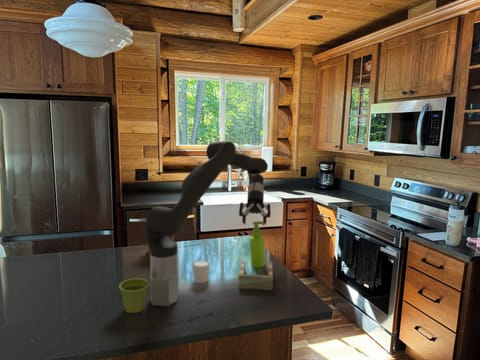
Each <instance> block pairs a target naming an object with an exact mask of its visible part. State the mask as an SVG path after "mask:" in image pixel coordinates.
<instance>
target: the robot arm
mask: <svg viewBox="0 0 480 360" xmlns="http://www.w3.org/2000/svg"><path fill="white" fill-rule="evenodd" d="M236 149H237V148H236V145H235V144H234V142H232V141H230V140H220V141H213V142H211V143H208V146H207V147H206V157H207V159H208V160H207V161H204V162H203V163H202V164H199V165H198V166H196V167H195V168H193V169H192V170H191V171H190V172H189V173H188V175H187V176H186V177H185V178H184V179H183V181H182V185H181V197H180V199H179V200H178V202H177V203H176V204H174V206H173V207H164V206H160V205H158V206H153V207H152V208H150V210H149V211H148V213H147V216H146V222H145V223H146V224H145V226H146V238H147V239H146V241H147V248H148V247H149V249H150V255H149V259H150V260H149V264H150V265H149V266H150V267H149V268H150V269H149V270H150V302H151V305H152V306H158V307H159V306H161V307H170V306H171V305H172V304H174V303H176V302H177V301H178V298H179V294H178V290H179V288H178V244H177V243H176V242H175V240H174V241H172V240H171V239H170V238H169V236H173V235H174V236H175V235H177V233H179V231H180V230H181V229H182V228H183V226H184V224H185V222H186V221H187V219H188V217H189V216H190V214H191V212H192V211H193V210H194V208H195V207H196V205H197V204H198V202H199V201H201V200H200V199H201V198H202V197H203V196H204V195H205V194H206V192H207V191H208V189H209V188H210V187H211V185H212V184H213V183H214V182H215V180H216V179H217V178H218V177H219V175H220V174H221V173H222V172H223V170H225V169H226V168H227V167H228V165H229V166H232V167H236V168H238V169H240V170H244V171H246V172H247V176H248V189H247V199H246V201H247V202H246V203H243V202H240V204H239V210H238V216H239V217H242V224H243V225H246V223H247V222H246V220H247V217H248V216H249V215H250V214H257V215H258V214H259V215H260V216H262V222H265V224H262V226H265V225H266V224H267V218H271V214H272V213H271V204H270V203H267V204H264V197H265V196H264V195H265V192H264V191H265V190H264V176H263V175H261V174H264V173H266V172H267V170H268V167H269V166H268V163H267V161H266V160H265V159H264V158H261V157H254V156H253V157H252V156H250V155H247V154H244V153H240V152H237V150H236ZM245 208H246V209H245ZM243 209H245V210H244V212H243ZM264 209H265V210H267V213H266V211H265V210H264Z"/></svg>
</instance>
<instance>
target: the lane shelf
mask: <svg viewBox="0 0 480 360" xmlns="http://www.w3.org/2000/svg"><path fill="white" fill-rule="evenodd" d="M267 262H268V264H267V266H268V267H267V273H268V274H267V275H266V274H264V275H263V274H245V272H246V260H241V264H240V270H239V274H238V289H247V290H249V289H251V290H266V291H267V290H268V291H269V290H270V291H271V290H272V291H273V289H274V273H273V272H274V271H273V262H272V261H267Z"/></svg>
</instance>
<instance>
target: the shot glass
mask: <svg viewBox="0 0 480 360" xmlns="http://www.w3.org/2000/svg"><path fill="white" fill-rule="evenodd" d="M210 264H211V263H210V262H209V261H208V260H197V261H193V263H192V270H193V271H192V272H193V280H194V283H198V284H204V283H207V282H208V281H209V277H210V275H209V274H210Z"/></svg>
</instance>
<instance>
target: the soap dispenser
mask: <svg viewBox="0 0 480 360" xmlns="http://www.w3.org/2000/svg"><path fill="white" fill-rule="evenodd" d="M263 224H265V222H263V221H253V222H252V225H253V227H254V228H253V229H252V235H251V236H250V237H249V243H250V245H249V246H250V260H251V261H250V262H251V263H250V264H251V267H252V268H257V269H258V268H262V267H264V266H265V244H264V243H265V241H264V239H265V238H264V236H263V235H261V228H259V225H263ZM265 225H266V224H265Z"/></svg>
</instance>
